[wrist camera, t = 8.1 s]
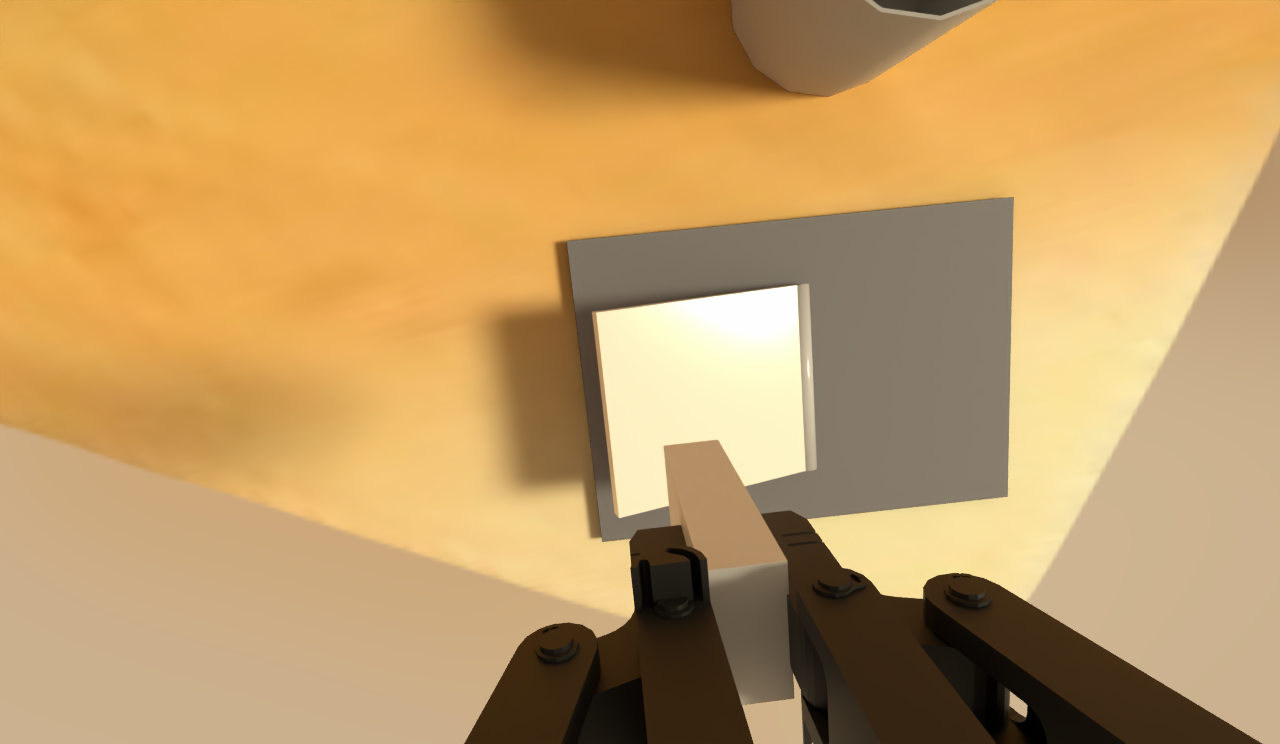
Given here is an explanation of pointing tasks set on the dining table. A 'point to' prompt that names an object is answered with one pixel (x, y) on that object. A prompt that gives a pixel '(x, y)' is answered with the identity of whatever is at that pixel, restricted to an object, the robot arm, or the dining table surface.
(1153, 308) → the dining table surface
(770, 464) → the tile
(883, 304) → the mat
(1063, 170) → the dining table surface
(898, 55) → the cup
